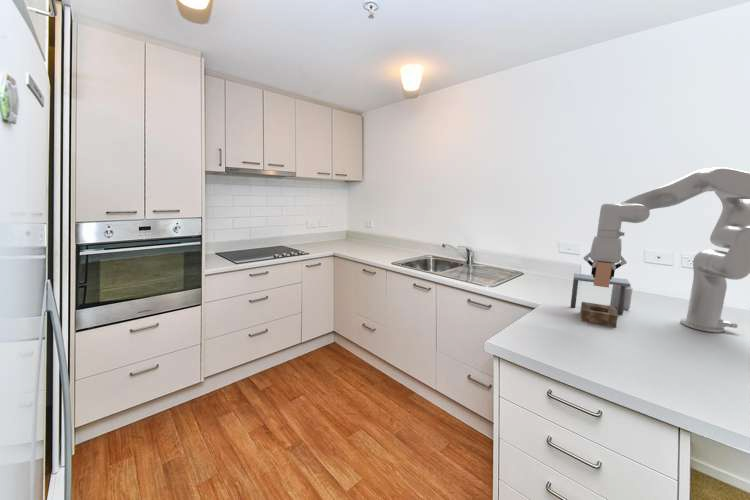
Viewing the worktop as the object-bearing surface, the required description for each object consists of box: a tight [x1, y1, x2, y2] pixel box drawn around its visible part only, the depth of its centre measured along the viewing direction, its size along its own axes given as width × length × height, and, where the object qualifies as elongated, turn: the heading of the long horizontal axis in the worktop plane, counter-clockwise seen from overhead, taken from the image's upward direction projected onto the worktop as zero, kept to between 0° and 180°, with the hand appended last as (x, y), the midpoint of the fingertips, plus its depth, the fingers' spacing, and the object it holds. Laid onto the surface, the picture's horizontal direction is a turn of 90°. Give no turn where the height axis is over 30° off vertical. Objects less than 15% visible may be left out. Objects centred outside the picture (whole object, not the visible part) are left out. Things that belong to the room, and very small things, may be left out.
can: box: [609, 283, 634, 311], centre depth 153 cm, size 8×8×12 cm
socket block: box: [580, 301, 619, 328], centre depth 139 cm, size 12×13×5 cm
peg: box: [592, 261, 612, 289], centre depth 134 cm, size 5×5×10 cm
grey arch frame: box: [569, 272, 631, 316], centre depth 145 cm, size 20×9×16 cm, turn 59°
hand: (601, 277), depth 135 cm, fingers closed on peg, 4 cm apart
